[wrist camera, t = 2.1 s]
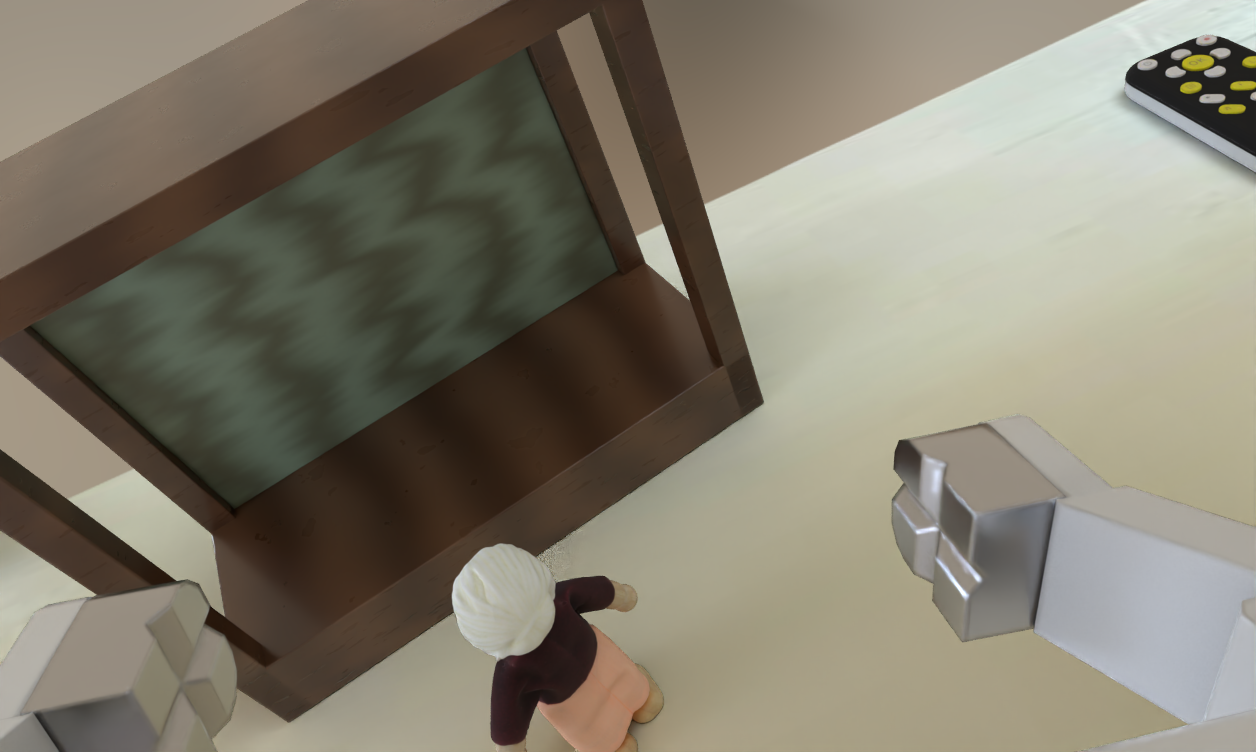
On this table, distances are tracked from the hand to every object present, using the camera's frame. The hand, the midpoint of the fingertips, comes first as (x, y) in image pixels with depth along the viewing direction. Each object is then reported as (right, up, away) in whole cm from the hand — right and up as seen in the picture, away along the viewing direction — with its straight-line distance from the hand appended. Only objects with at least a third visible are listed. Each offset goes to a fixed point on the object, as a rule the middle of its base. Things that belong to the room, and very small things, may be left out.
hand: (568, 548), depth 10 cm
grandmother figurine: (0, -13, +25) cm, 28 cm away
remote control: (+35, +17, +38) cm, 54 cm away
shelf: (-7, -4, +36) cm, 37 cm away
